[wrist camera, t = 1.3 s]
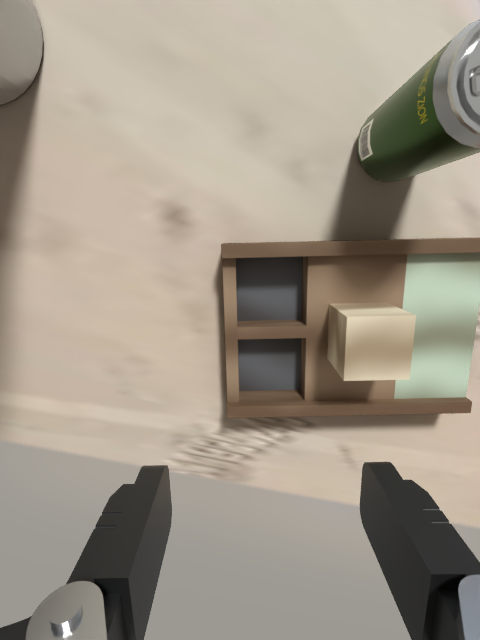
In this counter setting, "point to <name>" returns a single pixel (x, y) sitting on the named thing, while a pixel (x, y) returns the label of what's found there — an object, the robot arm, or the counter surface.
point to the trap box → (313, 320)
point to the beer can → (428, 115)
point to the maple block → (370, 341)
